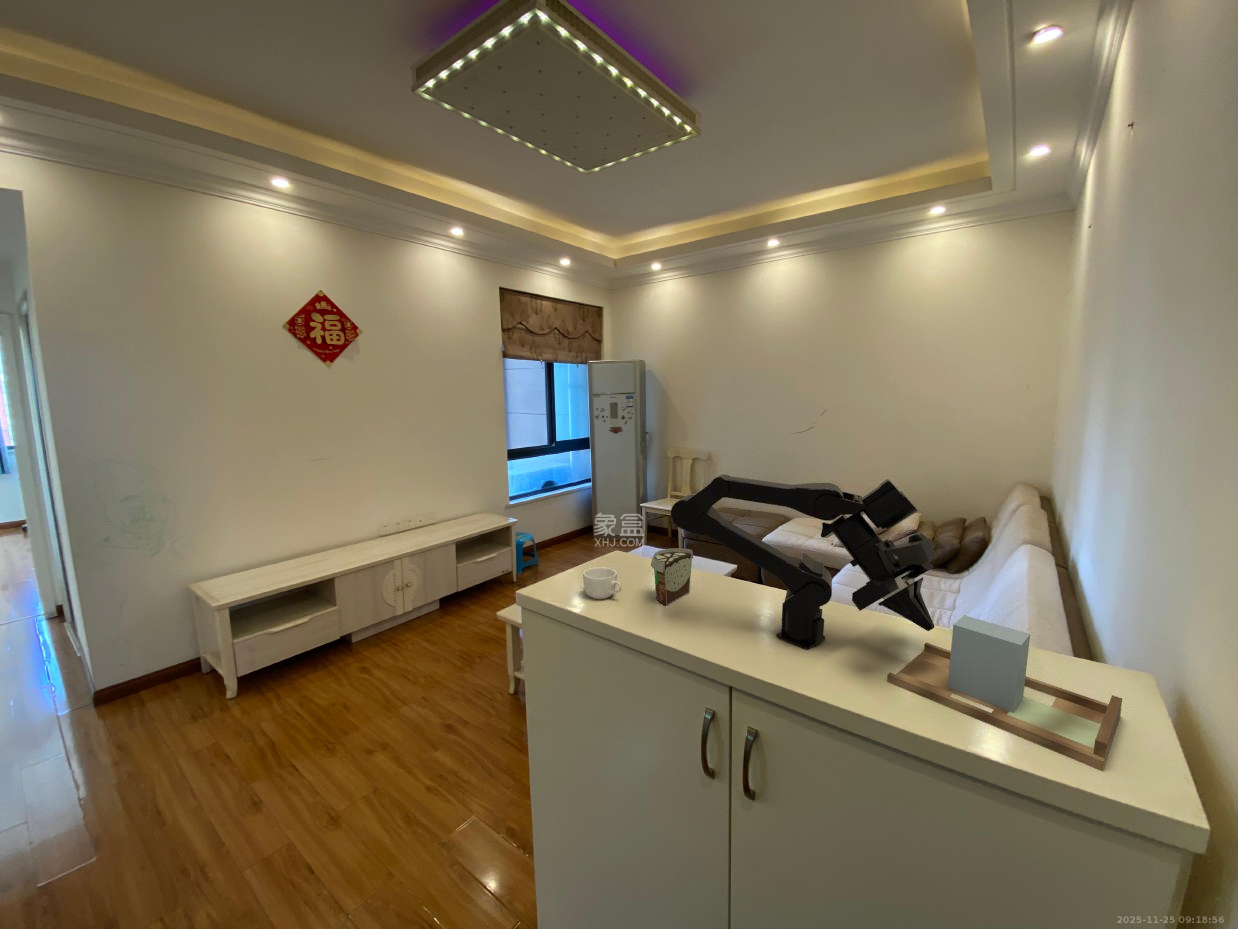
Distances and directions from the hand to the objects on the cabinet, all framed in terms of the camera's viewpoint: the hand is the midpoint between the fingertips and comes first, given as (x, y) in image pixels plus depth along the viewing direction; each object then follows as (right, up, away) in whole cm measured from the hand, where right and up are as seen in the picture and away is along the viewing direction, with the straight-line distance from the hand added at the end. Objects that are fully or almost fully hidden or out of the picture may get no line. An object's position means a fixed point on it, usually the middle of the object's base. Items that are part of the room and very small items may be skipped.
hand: (931, 629), depth 78 cm
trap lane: (+6, -9, -6) cm, 12 cm away
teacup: (-53, -4, +34) cm, 63 cm away
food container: (-38, -4, +34) cm, 51 cm away
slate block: (+5, -8, -5) cm, 10 cm away
